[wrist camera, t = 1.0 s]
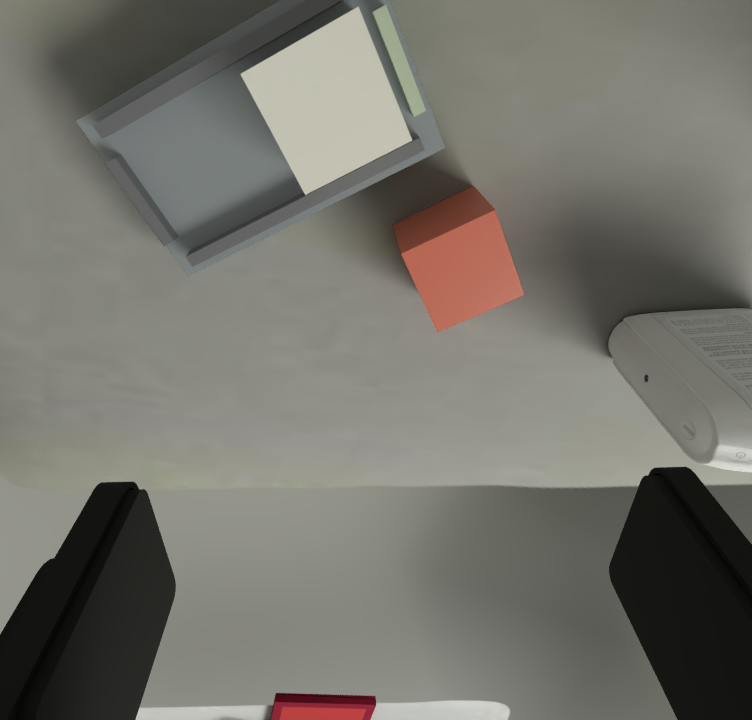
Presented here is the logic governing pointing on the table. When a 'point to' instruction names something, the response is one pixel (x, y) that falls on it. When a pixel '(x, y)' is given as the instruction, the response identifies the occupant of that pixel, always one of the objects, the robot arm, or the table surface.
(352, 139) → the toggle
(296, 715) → the red board with handle
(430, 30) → the table surface
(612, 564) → the robot arm
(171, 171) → the grey tray
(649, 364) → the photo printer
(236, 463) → the table surface
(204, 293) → the table surface
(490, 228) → the red cube
